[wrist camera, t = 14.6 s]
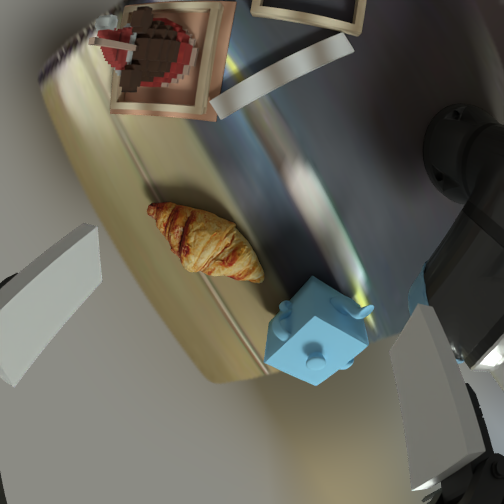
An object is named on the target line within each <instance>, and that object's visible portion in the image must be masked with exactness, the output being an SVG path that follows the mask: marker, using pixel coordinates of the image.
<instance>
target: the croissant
mask: <svg viewBox="0 0 504 504" xmlns="http://www.w3.org/2000/svg"><path fill="white" fill-rule="evenodd" d="M147 213H148V215H149V216H152V217H153V218H154V219H155V220H156V226H157V228H158V229H159V230H160V233H162V234H163V235H164V236H165V238H166V240H168V241H169V244H170V246H171V251H172V252H173V253H174V254H176V255H177V256H178V257H179V258H180V260H181V263H182V265H183V267H184V268H185V269H186V270H188V271H189V272H198V271H202V272H203V273H205V274H207V275H212V276H219V275H224V276H228V277H230V278H233V279H235V280H249V281H250V282H253V283H260V282H263V280H264V271H263V269H262V266H261V265H260V263H259V261H258V258H257V255H256V253H255V252H254V251H253V248H252V247H251V245H250V244H249V242H248V241H247V239H245V238H244V237H243V236H242V234H241V233H240V232H239V231H238V230H237V229H236V228H235V227H236V224H235V223H233V222H230V221H227V220H225V219H223V218H219V217H218V216H216V215H215V214H213V213H210V212H208V211H204V210H201V209H194V208H192V207H187V206H183V205H176V204H175V203H172V202H163V203H151V204H150V205H149V206H148V209H147Z"/></svg>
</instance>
